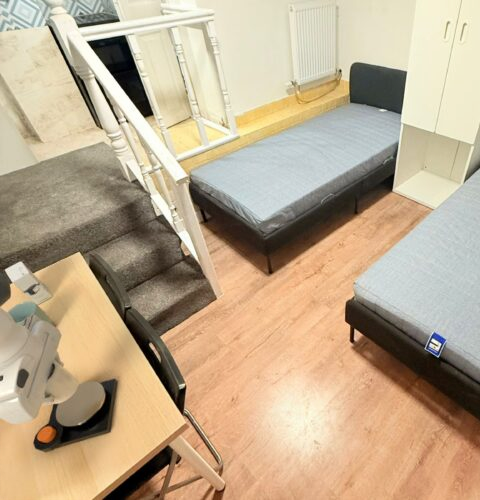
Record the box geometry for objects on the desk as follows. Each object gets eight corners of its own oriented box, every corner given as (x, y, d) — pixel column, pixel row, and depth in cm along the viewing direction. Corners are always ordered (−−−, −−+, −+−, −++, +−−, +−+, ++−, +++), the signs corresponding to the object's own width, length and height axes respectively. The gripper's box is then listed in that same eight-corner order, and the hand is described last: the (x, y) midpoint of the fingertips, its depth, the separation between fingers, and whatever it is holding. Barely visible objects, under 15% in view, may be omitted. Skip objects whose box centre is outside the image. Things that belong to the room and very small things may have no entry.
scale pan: (51, 433, 76) (50, 432, 76) (63, 389, 84) (61, 388, 83) (101, 418, 78) (100, 418, 78) (108, 376, 86) (107, 375, 85)
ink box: (27, 292, 111) (3, 269, 103) (43, 283, 114) (21, 260, 105) (36, 306, 107) (11, 282, 99) (53, 296, 110) (29, 273, 101)
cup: (49, 316, 104) (29, 296, 97) (61, 328, 101) (41, 309, 94) (22, 334, 100) (-1, 315, 93) (34, 348, 96) (10, 329, 89)
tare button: (40, 444, 75) (35, 442, 74) (44, 431, 77) (39, 428, 76) (54, 440, 76) (50, 438, 74) (58, 426, 78) (53, 424, 77)
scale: (39, 457, 76) (29, 453, 74) (55, 398, 86) (47, 392, 83) (109, 436, 79) (102, 431, 76) (117, 381, 88) (111, 375, 86)
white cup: (43, 407, 73) (18, 392, 67) (51, 380, 77) (28, 364, 71) (75, 398, 74) (53, 383, 68) (81, 372, 78) (61, 355, 73)
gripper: (12, 314, 70) (52, 347, 80) (-30, 411, 56) (24, 437, 66) (45, 306, 71) (80, 340, 81) (12, 400, 57) (59, 427, 67)
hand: (55, 384), depth 73 cm, fingers closed on white cup, 6 cm apart
